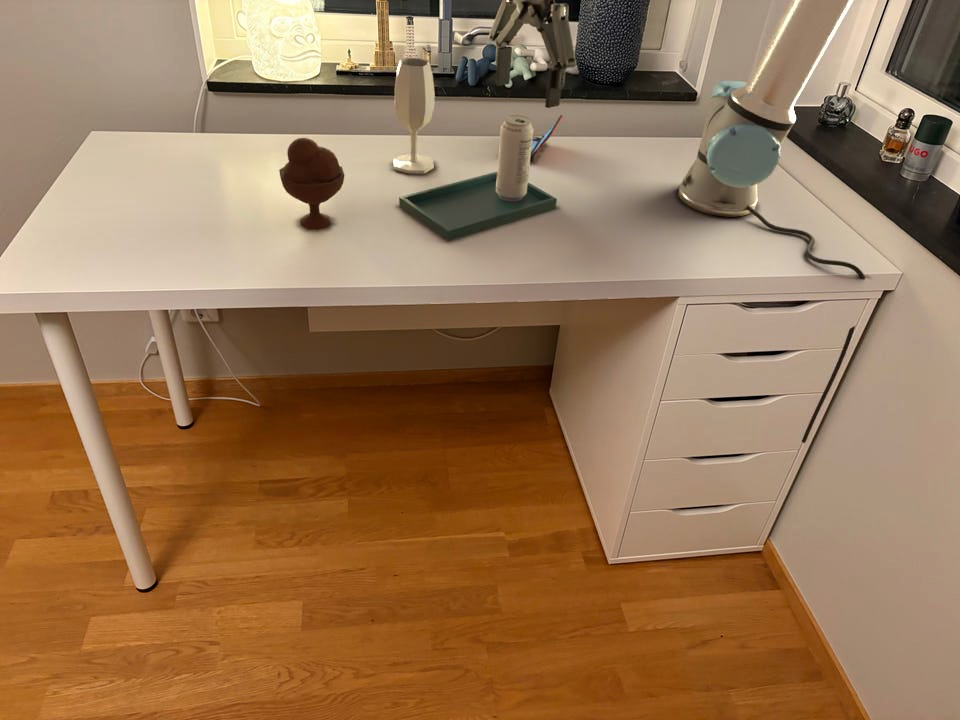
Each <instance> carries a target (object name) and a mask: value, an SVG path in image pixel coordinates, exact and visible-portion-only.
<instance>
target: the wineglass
mask: <svg viewBox="0 0 960 720" xmlns="http://www.w3.org/2000/svg"><path fill="white" fill-rule="evenodd" d="M435 95H436V94H435V84H434V75H433V70H432V66H431V63H430V60H429V59H427V58H422V57H410V56H409V57H404V58H402V59H400V60H399V63H398V66H397V69H396V76H395V83H394V108H395V109H394V110H395V113H396V117H397V121H398V123H400V124H401V125H402V126H403V127H405V129H407V131H409V132H410V149H409V150H410V151H409V152H410V154H401V155H399V156H397V157H396V158H393V161H392V163H393V170H396V171H399V172H402V173H406V174H423V175H424V174H427V173H428V172H430V171H431V170H433V169H434V168H435V164H434V160H433V158H431V157H427V156H424V155H422V154H418V132H419V131H420V130H422V129H423V128H424V127H425V126H426V125H428V124H429V123H430V122H431V121H432V118H433V113H434V110H435V97H436V96H435Z"/></svg>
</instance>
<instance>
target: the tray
mask: <svg viewBox="0 0 960 720" xmlns="http://www.w3.org/2000/svg"><path fill="white" fill-rule="evenodd" d="M496 181H497V171H494V172H489V173H485V174H483V175H479V176H475V177H471V178H468V179H462V180H459V181H455V182H452V183H448V184H444V185H440V186H436V187H433V188H429V189H425V190H421V191H417V192H413V193H410V194H406V195H402V196H399V197H398V207H399V208H400V209H402V210H403V211H404V212H406V213H408V214H409V215H410V216H411V217H413V218H414V219H416V220H417V221H419V222H420V223H421V224H423V225H424V226H426V227H427V228H428V229H429V230H431V231H433V232H434V233H436V234H437V235H439V236H440V237H441V238H442V239H444V240H445V241H447V242H450V241H454V240H456V239H461V238H463V237H467V236H469V235H472V234H477V233H480V232H483V231H486V230H490V229H493V228H496V227H499V226H502V225H506V224H508V223H513V222H515V221H518V220H522V219H524V218H529V217H532V216H534V215H538V214H541V213H544V212H547V211H551V210H553V209H556V208H557V202H558V201H557V200H558V198H556V197H555V196H553V195H551V194H550V193H547V192H546V191H545V190H543V189H541V188H539V187H537V186H536V185H533V184H532V183H530V182H528V184H527V193H526V195H525V196H523V199H521V200H519V201H506V200H503V199H501V198H500V197H499V196H498V193H497V192H496Z"/></svg>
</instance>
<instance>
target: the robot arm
mask: <svg viewBox="0 0 960 720" xmlns="http://www.w3.org/2000/svg"><path fill="white" fill-rule="evenodd" d="M853 1H854V0H788V2H787V3H786V6H785V8H784V10H783V11H782V13H781V15H780V16H779V17H780V18H779V19H778V21H777V23H776V25H775V27H774V29H773V31H772V32H771V35H770V36H769V38H768V41H767V42H766V44H765V46H764V48H763V50H762V52H761V54H760V56H759V58H758V60H757V62H756V64H755V66H754V68H753V70H752V72H751V73H750V75H749V77H748V79H747V81H746V82H745V81H736V80H724V81H720V82H718V83H716V85H715V86H714V88H713V91H712V94H711V95H710V99H709V100H710V102H709V107H708V111H707V115H706V119H705V123H704V126H703V131H702V136H701V139H700V143H699V147H698V151H697V155H696V157H695V160H694V161H693V163H692V165H691V166H690V167H689V170H688V171H687V173H686V174H685V176H684V178H683V179H682V180H681V182H680V185H679V189H678V197H679V199H680V201H682V203H684V204H685V205H687V206H688V207H690V208H692V209H694V210H695V211H698V212H702V213H705V214H708V215H713V216H718V217H728V218H729V217H730V218H731V217H732V218H733V217H742V216H746V215H749V214H752V215H753V216H755V217H756V218H757V219H758V220H759V221H760V222H761V223H762V224H763V225H764V226H766V227H767V228H768V229H771V230H773V231H777V232H782V233H788V234H789V233H790V234H796V235H799V236H803V237H805V238H807V239H808V241H809V243H808V245H807V246H806V248H805V255H806V257H807V258H808V259H810V260H811V261H813V262H815V263H817V264H822V265H828V266H829V265H830V266H840V267H844V268H848V269H850V270H852V271H853V272H854V273H856V274H857V276H858V277H859V278H860V279H862V280H865V279H866V277H865V274H864V273H863V271H862V269H860V268H859V267H858V266H856V265H855V264H853V263H851V262H847V261H841V260H833V259H823V258H821V257H816V256H815V255H814V254H812V252H811V250H812V248H813V247H814V245H815V243H816V241H815V238H814V236H813V235H811V234H810V233H809V232H807V231H804V230H801V229H797V228H788V227H782V226H779V225H775V224H772V223H771V222H769V221H768V220H766V218H765V217H764V216H763V215H761V213H759V212H758V211H757V210H755V209H756V206H757V202H758V184H761V183H762V182H764V181H766V180H767V179H768V178H769V177H770V176H771V175H772V174H773V173H774V172H775V170H776V169H777V167H778V164H779V161H780V158H781V153H782V150H781V146H782V145H783V143H784V142H785V139H786V138H787V136H788V134H789V133H790V131H791V129H792V127H793V126H794V124H795V122H796V120H797V116H796V114H795V110H794V105H795V104H796V103H797V102H796V101H797V100H798V98H799V96H800V95H801V93H802V91H803V90H804V88H805V86H806V84H807V82H808V80H809V79H810V77H811V75H812V73H813V72H814V70H815V68H816V66H817V65H818V63H819V61H820V59H821V58H822V56H823V55H824V52H825V50H826V49H827V47H828V45H829V43H830V42H831V40H832V38H833V37H834V35H835V33H836V31H837V29H838V28H839V26H840V24H841V23H842V21H843V19H844V17H845V15H846V14H847V12H848V10H849V8H850V6H851V5H852V3H853ZM524 25H529V26H530V27H533V28H535V29H536V31H537V32H538V33H540V35H541V38H542V41H543V44H544V46H545V49H546V52H547V54H548V57H549V60H550V63H551V65H552V66H551V67H549V68H548V75H547V84H546V93H545V104H544V108H547V109H551V108H555V107H559V106H560V103H561V94H562V89H563V88H564V86H565V78H566V71H567V69H570V68H575V67H576V66H577V59H576V54H575V48H574V43H573V36H572V34H571V33H572V32H571V26H570V21H569V4H568V3H567V2H564V3H563V2H562V3H556V2H555V0H501V4H500V6H499V9H498V11H497V13H496V16H495V19H494V21H493V24H492V26H491V29H490V31H489V34H488V40H489V41H490V42H493V43H494V46H495V48H496V49H495V65H496V70H495V71H496V72H495V73H496V74H495V86H497V87H501V86H506V85H510V79H511V65H512V53H513V47H512V46H511V45H512V41H513V39H514V38H515V37H516V35H517V34H518V32H519V31H520V30H521V28H523V27H524ZM855 328H856V325H854V326H851V327H850V328H849V330H848V332H847V335H846V338H845V341H844V344H843V347H842V350H841V352H840V355H839V357H838V359H837V362H836V364H835V366H834V369H833V371H832V373H831V376H830V378H829V380H828V382H827V384H826V386H825V388H824V390H823V393H822V395H821V396H820V399H819V401H818V402H817V405H816V407H815V409H814V412H813V413H812V415H811V418H810V420H809V423H808V424H807V427H806V429H805V432H804V434H803V437H802V439H801V443H803V444H805V443H807V439H808V437H809V435H810V432H811V430H812V428H813V426H814V423H815V421H816V419H817V417H818V416H819V413H820V411H821V408H822V407H823V404H824V402H825V401H826V398H827V396H828V394H829V392H830V390H831V388H832V385H834V384H833V383H834V382H835V379H836V377H837V375H838V373H839V370H840V368H841V366H842V364H843V361H844V359H845V357H846V354H847V351H848V349H849V346H850V344H851V340H852V337H853V334H854V332H855Z"/></svg>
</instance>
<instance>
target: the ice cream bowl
mask: <svg viewBox="0 0 960 720" xmlns="http://www.w3.org/2000/svg"><path fill="white" fill-rule="evenodd" d="M286 151H287V152H286V153H287V154H286V155H287V160H288V161H287V163H285V165H284V166H283V167H281V168H280V169H278V171H279V178H280V181H281V184H282V187H283V189H284V190H285V193H287V194H288V195H289V196H291V197H292V198H294V199H295V200H298V201H300V202H302V203H304V204H307V205H308V206H309V213H307V214H305V215H303V216H302V217H301V218H300V219H299V223H300V224H299V225H300V227H301V228H304V229H307V230H312V231H313V230H315V231H318V230H323V229H327V228H328V227H329V226H330V225H332V222H331V218H330V216H328V215H326V214H324V213H322V212H321V211H320V205H321V204H323V203H325V202H327V201H329V200H330V199H332V198H333V197H334V196H335V195H336V194H337V193H338V192H339V191H341V189H342V187H343V184H344V182H345V180H344V179H345V172H344V169H343V166H341V165H340V163H339V159H338V157H337V156H336V155H335V153H334V152H333V151H332V150H330V149H328V148H326V147H323V146H319V144H318V143H317V142H316V141H315V140H313V139H311V138H308V137H299V138H296V139H294V140H293V141H292V142H291V143H290V144H289V146H288V148H287V150H286Z"/></svg>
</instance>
